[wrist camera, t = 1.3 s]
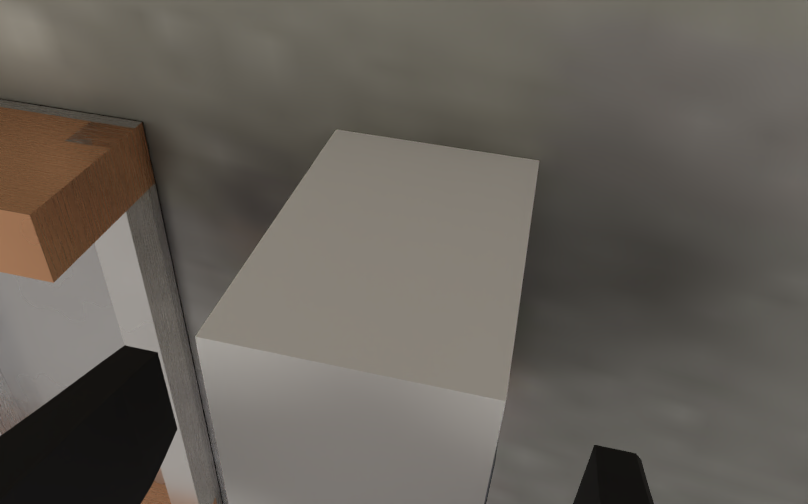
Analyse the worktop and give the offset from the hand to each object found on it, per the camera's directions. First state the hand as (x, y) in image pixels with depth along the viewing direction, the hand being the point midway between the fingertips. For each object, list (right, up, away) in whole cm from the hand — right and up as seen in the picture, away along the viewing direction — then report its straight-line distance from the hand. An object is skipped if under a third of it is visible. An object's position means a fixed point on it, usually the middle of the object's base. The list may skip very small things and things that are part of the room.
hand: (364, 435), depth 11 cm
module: (+1, +3, +4) cm, 5 cm away
